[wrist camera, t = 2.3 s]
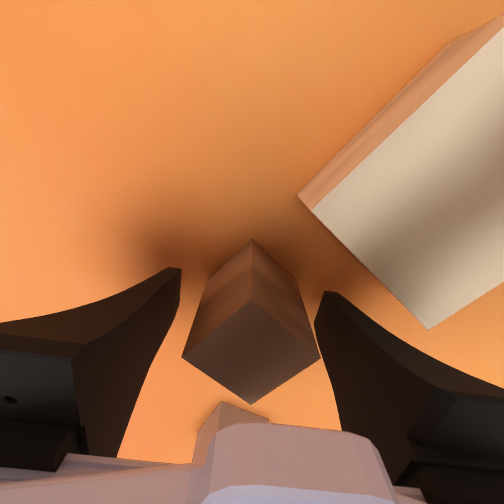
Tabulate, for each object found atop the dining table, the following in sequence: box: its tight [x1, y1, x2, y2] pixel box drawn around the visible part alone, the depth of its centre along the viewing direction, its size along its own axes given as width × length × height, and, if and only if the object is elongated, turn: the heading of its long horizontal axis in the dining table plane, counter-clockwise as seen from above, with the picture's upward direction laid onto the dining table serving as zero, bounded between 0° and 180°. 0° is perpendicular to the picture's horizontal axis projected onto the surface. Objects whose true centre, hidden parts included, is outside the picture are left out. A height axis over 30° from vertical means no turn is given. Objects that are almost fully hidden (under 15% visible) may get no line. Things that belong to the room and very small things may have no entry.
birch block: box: [296, 14, 504, 330], centre depth 10 cm, size 8×8×4 cm
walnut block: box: [182, 239, 321, 405], centre depth 11 cm, size 4×4×6 cm
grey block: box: [192, 401, 269, 463], centre depth 17 cm, size 4×4×4 cm
